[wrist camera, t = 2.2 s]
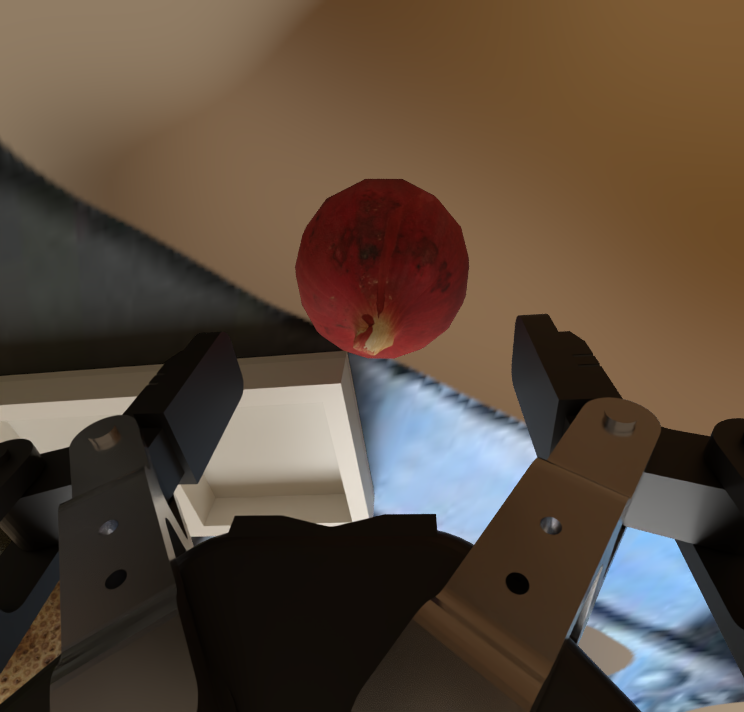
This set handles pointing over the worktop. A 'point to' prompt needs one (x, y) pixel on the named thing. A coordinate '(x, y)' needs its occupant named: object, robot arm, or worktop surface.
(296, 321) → the worktop surface
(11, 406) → the well holder
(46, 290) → the worktop surface
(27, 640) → the natural sponge
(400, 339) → the onion
